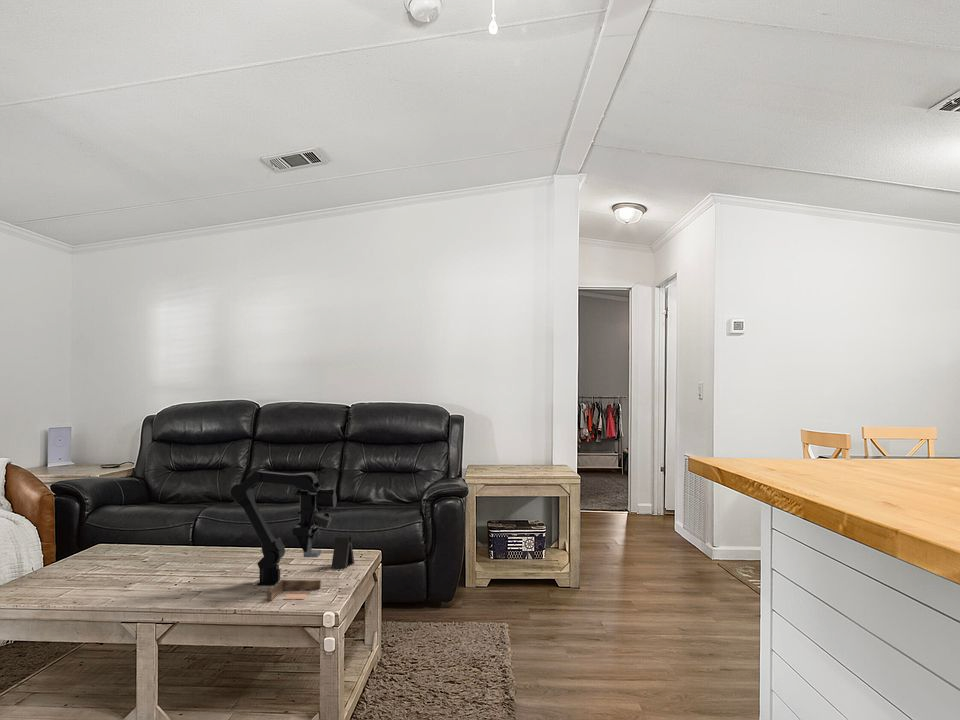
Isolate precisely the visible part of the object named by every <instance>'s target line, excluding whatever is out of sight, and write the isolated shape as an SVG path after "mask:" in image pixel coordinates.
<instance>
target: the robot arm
mask: <svg viewBox="0 0 960 720" xmlns="http://www.w3.org/2000/svg"><path fill="white" fill-rule="evenodd" d="M261 483H267V484H268V483H269V484H277V485H287V486H290V487H291V486H292V487H294V488H296V489H297V490H296V492H295V493H294V494H293V495H294V496H296V497H298V496H299V510H297V515H299V521H298V522H297V525H296V526H295V527H292V529H291V536H295V537H296V539H297V541H298V542H299V545H300V547H301V549H302V551H303V553H304V552H307V548H308V542H309V538H312V544H313V542H314V539H315V534H316V533H317V532H318V531H319V530H320V527H321V528H323V529H327V528H328V527H330V524H331V522H332V516H331V513H330V512H328V511H326V512H325V513H324V514H323V513H319V510H318V508H336V507H337V500H338V496H337V493H336V488H324V487H322V485H321V484H320V483H319V480H318V477H317V475H316V474H315V473H314V472H311V471H310V472H300V473H286V472H275V471H265V470H262V469H260V470H257V471H255V472H253V473H252V474H251V475H250V476H248V477H247V478H245V479H244V480H243V481H241V482H239V483H236V484H234V485H233V486H232V487H231V489H230V491H229V494H230V496H231V498H232V499H233V500H234V502H235V503H236V504H237V505H238V506H240V507H241V508H242V509H243V511H244V513H245V515H246V516H247V518H248V521H249V522H250V525H251V526H252V528H253V530H254V532H255V533H256V536H257V537H258V539H259V541H260V544H261V552H262V556H263V557H261V559H259V561H258V562H257V566H258V569H259V579H258V580H259V581H258V583H257V585H258V584H264V586H265V585H266V586H267V585H268V586H269V585H271V584H272V585H275V586H276V585H277V584H278V583H279V582H280V581H281V568H280V562H281V559H283V558H284V556H285V554H286V549H285V548H286V545H285V544H284V543H283V540H282V538H281V537H278V538H276V537H275V536H274V535H273V533H272V532H271V530H270V528H269V526H268V524H267V522H266V521H265V519H264V517H263V515H262V512H261V511H260V509H259V508H258V505H257V504H256V499H255V492H254V489H255V488H256V487H257V486H258V485H259V484H261ZM317 506H318V508H316V507H317ZM317 526H318V527H317Z"/></svg>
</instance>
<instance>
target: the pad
mask: <svg viewBox="0 0 960 720" xmlns="http://www.w3.org/2000/svg"><path fill="white" fill-rule="evenodd" d="M310 594H311V591H289V592H288V593H287V594H286V595H285V596H284V597H283V598H284V599H304V598H305V597H306V598H307V596H309V595H310ZM304 600H305V599H304Z"/></svg>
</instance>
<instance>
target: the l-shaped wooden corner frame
mask: <svg viewBox="0 0 960 720" xmlns="http://www.w3.org/2000/svg"><path fill="white" fill-rule="evenodd" d="M321 582H322V581H321V579H307V580H306V579H301V580H300V579H280V581H279V582H277V583H276V584H275V586H274V587H272V588H271V589H270V590H269V591H268V592H267V602H273V601H274V600H275V599H276V598H277V597H278V596H279V595H280V594H281V593H282V592H283V591H284V590H283V589H320V588H321ZM321 589H322V588H321ZM321 589H320V590H321ZM282 590H283V591H282ZM281 591H282V592H281ZM280 592H281V593H280ZM279 593H280V594H279ZM278 594H279V595H278ZM277 595H278V596H277ZM276 596H277V597H276ZM275 597H276V598H275ZM274 598H275V599H274ZM273 599H274V600H273ZM272 600H273V601H272Z"/></svg>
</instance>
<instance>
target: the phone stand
mask: <svg viewBox="0 0 960 720" xmlns="http://www.w3.org/2000/svg"><path fill="white" fill-rule="evenodd" d="M352 543H353V542H352V536H351V535H340V534H337V535H335V537H334V547H333V552H332V554H333V555H332V561H331V566H330V568H331V569H341V568H346V569H347V567H348V566H349V567H351V566H352V564H353V565H354V564H355V557H354V552H353V544H352ZM350 565H351V566H350ZM349 567H348V568H349Z"/></svg>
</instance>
